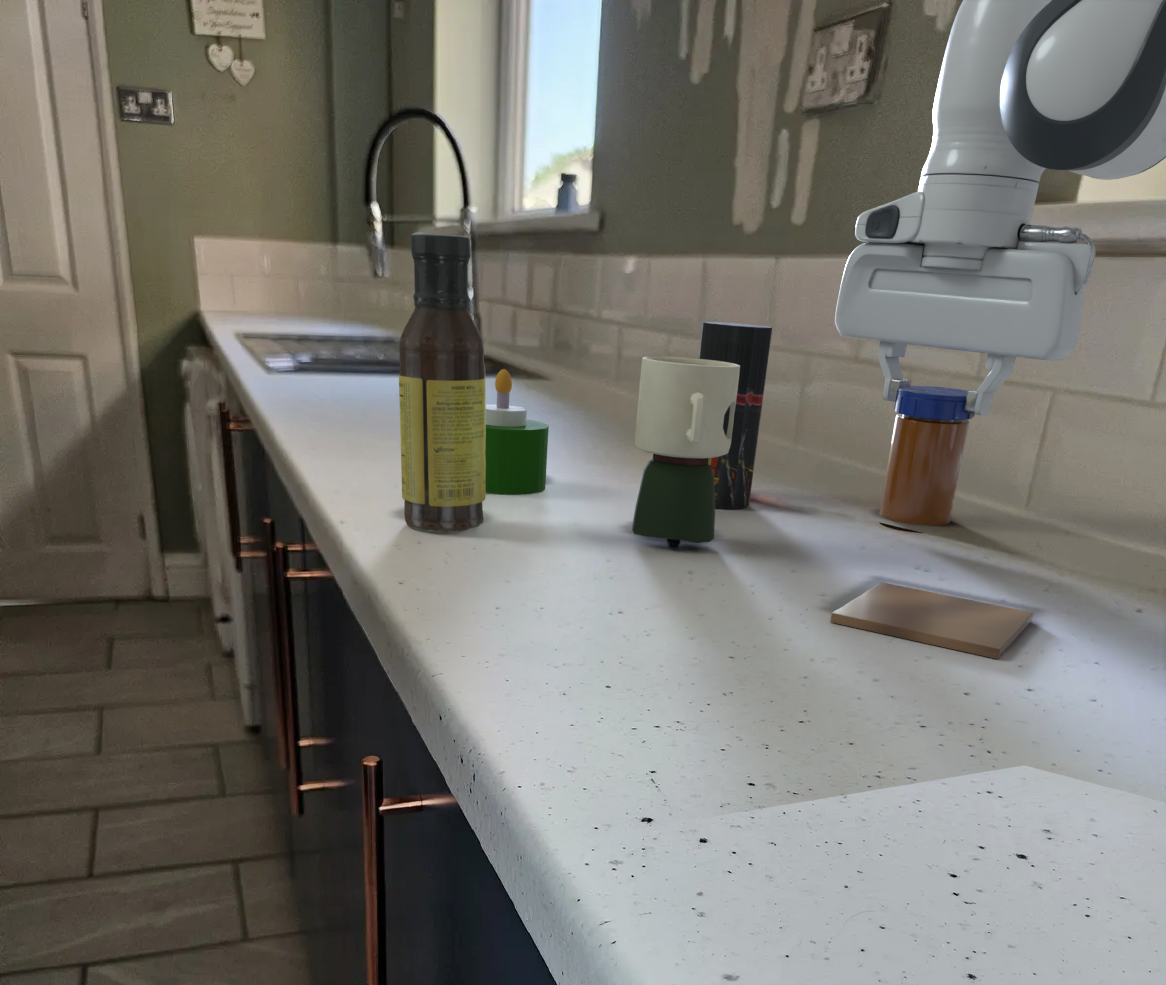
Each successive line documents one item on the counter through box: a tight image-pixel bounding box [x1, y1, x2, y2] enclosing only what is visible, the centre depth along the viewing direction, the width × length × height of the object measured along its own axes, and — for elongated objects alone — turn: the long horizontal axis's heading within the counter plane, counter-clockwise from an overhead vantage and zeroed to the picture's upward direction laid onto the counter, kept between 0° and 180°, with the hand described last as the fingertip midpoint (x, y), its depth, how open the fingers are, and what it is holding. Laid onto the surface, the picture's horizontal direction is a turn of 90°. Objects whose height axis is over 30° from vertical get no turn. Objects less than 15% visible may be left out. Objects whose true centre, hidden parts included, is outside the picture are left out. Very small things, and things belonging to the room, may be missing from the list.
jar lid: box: [893, 385, 975, 421], centre depth 91 cm, size 6×6×2 cm
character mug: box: [631, 355, 740, 547], centre depth 81 cm, size 11×7×13 cm, turn 6°
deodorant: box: [698, 321, 773, 510], centre depth 96 cm, size 6×6×15 cm
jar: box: [878, 413, 970, 534], centre depth 93 cm, size 6×6×11 cm
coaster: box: [830, 581, 1034, 660], centre depth 68 cm, size 10×10×1 cm
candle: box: [485, 368, 550, 496], centre depth 97 cm, size 8×8×10 cm
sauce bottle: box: [398, 231, 487, 533], centre depth 79 cm, size 6×6×20 cm
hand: (933, 407), depth 91 cm, fingers closed on jar lid, 6 cm apart
